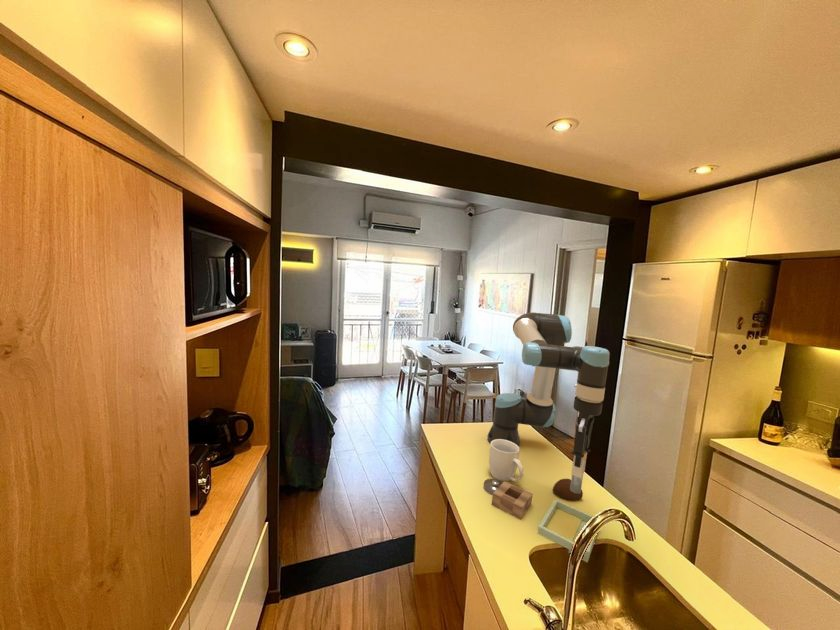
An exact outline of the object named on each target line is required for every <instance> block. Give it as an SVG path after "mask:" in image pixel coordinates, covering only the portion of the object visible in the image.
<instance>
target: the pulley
mask: <svg viewBox="0 0 840 630" xmlns="http://www.w3.org/2000/svg"><path fill="white" fill-rule="evenodd" d="M503 482H504V481H500V480H498V479H496V478H487V479H485V480H484V482H483V490H484V491H485V492H486V493H487V494H489V495H491V496H493V493H494V492H495V491H496V490H497V489H498V488H499V486H500V485H501V484H502V483H503Z"/></svg>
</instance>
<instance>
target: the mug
mask: <svg viewBox="0 0 840 630" xmlns="http://www.w3.org/2000/svg"><path fill="white" fill-rule="evenodd" d="M489 445H490V446H489V454H488V464H489V471H490V474H491V476H492V477H493V479H496V480H499V481H501V482H504V481H506V482H509V481H512V482H520V481H521V480H522V479H523V477H524V468H523V464H522V462H521V461H520V460H519V459H520V446H519V447H518V446H517V445H516V444H515V443H513V442H511V441H508V440H503V439H496V440H493V441H491V444H490V443H489ZM517 468H518V471H519V475H518V478H515V477H514V476H515V473H516V471H517Z"/></svg>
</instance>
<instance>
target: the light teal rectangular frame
mask: <svg viewBox="0 0 840 630" xmlns="http://www.w3.org/2000/svg"><path fill="white" fill-rule="evenodd" d="M556 509H558V510H561V511H563V512H565V513H568V514H570V515H572V516H573V517H576V518H578V519H580V520H581V521H580V523H579V525H578V527H577V530H576V533H575V534H574V537H573V539H572V540H571V539H568V538H567V537H565V536H563V535H561V534H559V533H557V532H555V531H553V530H551V529H549V528H547V525H548V523H549V522H550V520H551V518H552V516H553V515H554V513H555V511H556ZM593 516H594V515H593V514H592V515H591V513H590V514H589V513H588V512H585V511H583V510H581V509H578V508H576V507H574V506H572V505H569V504H567V503H566V502H563V501H561V500H558V499H556V498H554V500H553V502H552V503H551V505H550V507H549V508H548V510H547V511H546V513H545V514H544V516H543V518H542V520H541V521H540V523H539V524H538V527H537V534H539V535H540V536H542V537H545V538H546V539H547V540H550V541H552V542H554V543H556V544H558V545H559V546H561V547H564V548H566V549H567V553H568V554H570V553H571V549H572V546H573V544H574V541H575V539H576V537H577V536H578V534H579V533H580V531H581V530H582V528H583V527H584V525H586V523H587V522H588V521H589V520H590V519H591V518H592V517H593ZM597 536H598V534H597V535H596V536H595V537H594V539H593V540H592V541H591V543H590V545H589V546H588V548H587V550H586V552H585V554H584V557H583V559H581V560H582V561H583V562H585V563H588V562H589V560H590V557H591V554H592V551H593V548H594V545H595V542H596V540H597Z"/></svg>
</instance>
